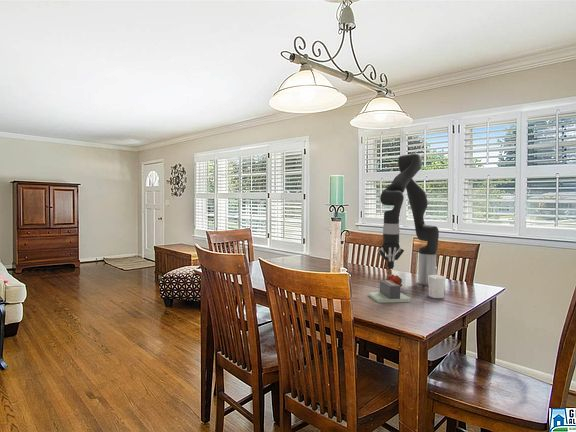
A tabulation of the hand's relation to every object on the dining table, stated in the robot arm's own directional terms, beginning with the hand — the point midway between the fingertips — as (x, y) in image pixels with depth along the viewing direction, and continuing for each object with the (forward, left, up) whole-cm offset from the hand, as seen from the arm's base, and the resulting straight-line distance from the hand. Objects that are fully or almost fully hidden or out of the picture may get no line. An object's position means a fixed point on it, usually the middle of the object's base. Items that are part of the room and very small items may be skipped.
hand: (390, 268), depth 173 cm
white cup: (-25, -1, -15) cm, 29 cm away
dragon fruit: (-9, -15, -15) cm, 23 cm away
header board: (0, 0, -14) cm, 14 cm away
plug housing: (0, 0, -13) cm, 13 cm away
